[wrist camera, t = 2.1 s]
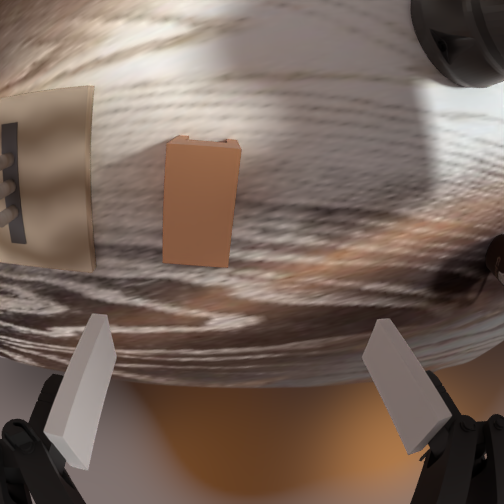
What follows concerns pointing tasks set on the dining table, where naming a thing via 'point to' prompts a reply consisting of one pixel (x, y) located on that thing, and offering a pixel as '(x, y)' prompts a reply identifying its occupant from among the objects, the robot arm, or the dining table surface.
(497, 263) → the coffee mug
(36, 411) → the robot arm
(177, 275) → the dining table surface
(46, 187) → the board
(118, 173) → the dining table surface
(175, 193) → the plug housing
